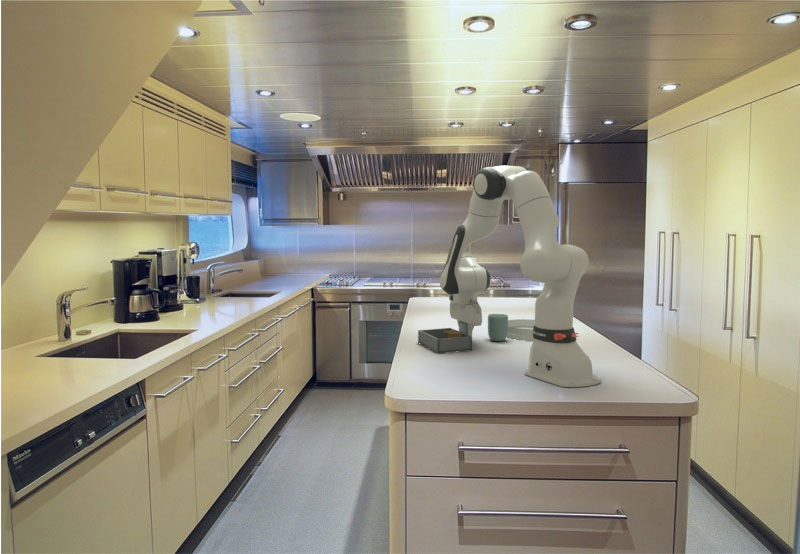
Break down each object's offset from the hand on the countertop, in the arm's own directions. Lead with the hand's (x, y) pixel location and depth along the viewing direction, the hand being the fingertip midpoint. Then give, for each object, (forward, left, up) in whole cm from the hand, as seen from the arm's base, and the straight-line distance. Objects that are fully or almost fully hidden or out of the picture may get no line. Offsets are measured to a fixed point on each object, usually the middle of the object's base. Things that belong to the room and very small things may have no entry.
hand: (465, 333), depth 205 cm
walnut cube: (-8, +10, -2) cm, 13 cm away
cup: (-4, -12, -3) cm, 13 cm away
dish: (0, -29, -4) cm, 29 cm away
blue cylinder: (0, 0, -3) cm, 3 cm away
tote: (-6, +12, -3) cm, 14 cm away
